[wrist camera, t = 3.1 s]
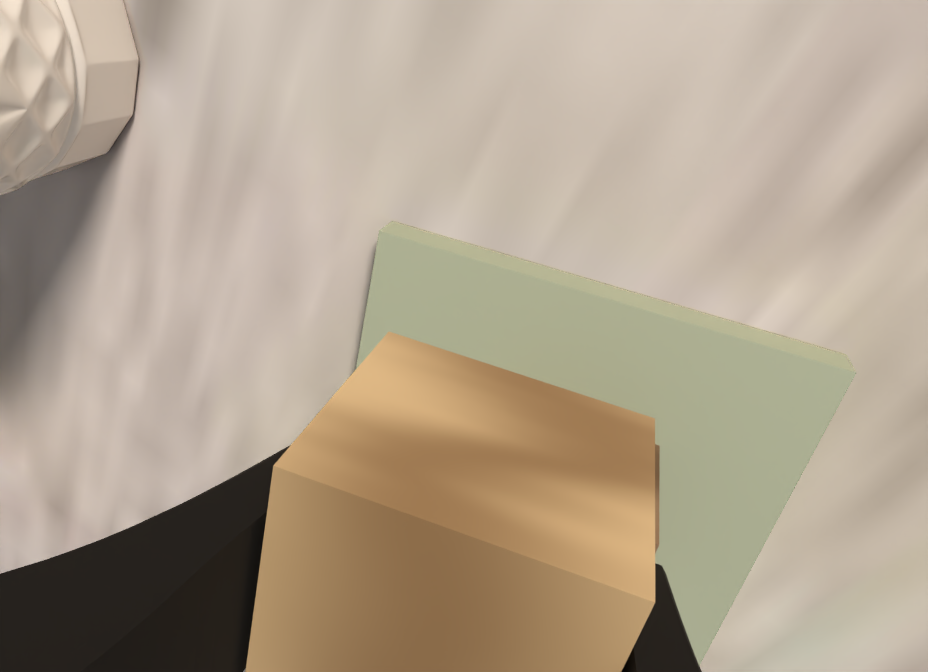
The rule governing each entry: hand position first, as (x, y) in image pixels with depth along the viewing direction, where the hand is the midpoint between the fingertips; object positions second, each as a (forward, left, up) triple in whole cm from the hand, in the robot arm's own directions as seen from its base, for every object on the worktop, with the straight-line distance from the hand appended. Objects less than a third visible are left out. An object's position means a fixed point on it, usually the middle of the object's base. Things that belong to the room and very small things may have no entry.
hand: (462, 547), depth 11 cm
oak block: (0, 0, -2) cm, 2 cm away
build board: (-1, +4, -9) cm, 10 cm away
